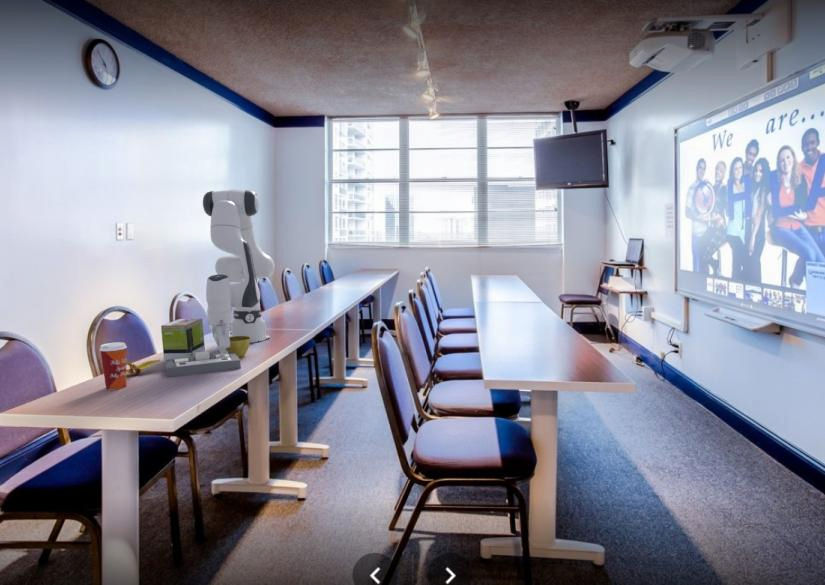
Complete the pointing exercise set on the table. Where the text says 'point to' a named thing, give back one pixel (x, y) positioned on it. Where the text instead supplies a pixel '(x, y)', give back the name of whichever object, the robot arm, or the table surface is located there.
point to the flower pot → (239, 345)
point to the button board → (202, 365)
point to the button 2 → (222, 356)
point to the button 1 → (181, 360)
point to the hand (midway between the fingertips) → (222, 355)
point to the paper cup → (114, 364)
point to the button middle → (202, 356)
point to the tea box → (182, 338)
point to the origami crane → (140, 367)
